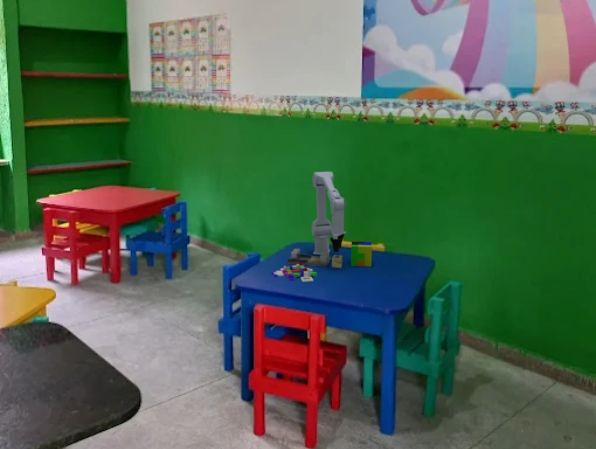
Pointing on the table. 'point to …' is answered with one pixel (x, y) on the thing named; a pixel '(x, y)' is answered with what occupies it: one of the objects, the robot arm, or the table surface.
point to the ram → (295, 254)
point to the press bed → (312, 259)
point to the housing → (336, 261)
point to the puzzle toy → (361, 253)
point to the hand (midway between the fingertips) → (337, 249)
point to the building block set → (304, 273)
